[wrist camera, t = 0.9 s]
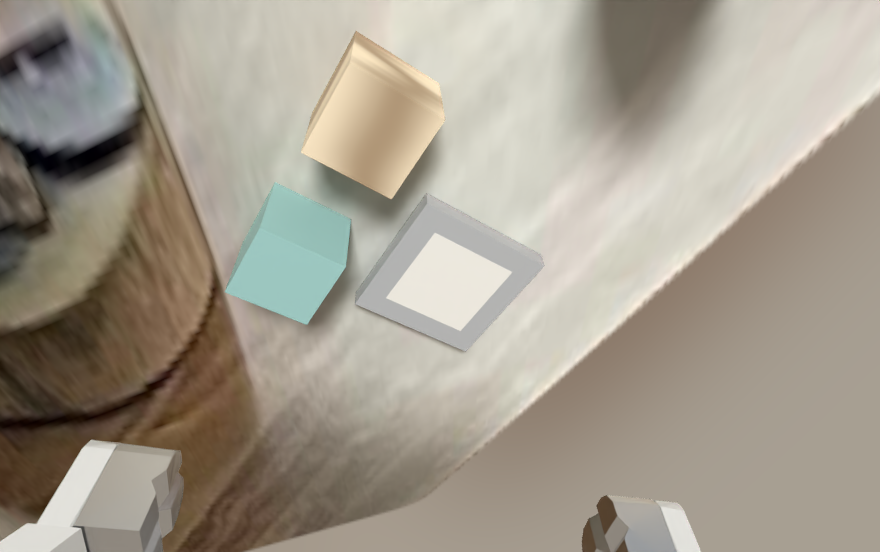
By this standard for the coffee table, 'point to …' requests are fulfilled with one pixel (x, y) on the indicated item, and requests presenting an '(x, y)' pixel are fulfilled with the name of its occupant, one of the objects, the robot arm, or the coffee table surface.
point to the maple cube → (374, 117)
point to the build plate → (447, 275)
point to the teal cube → (291, 255)
